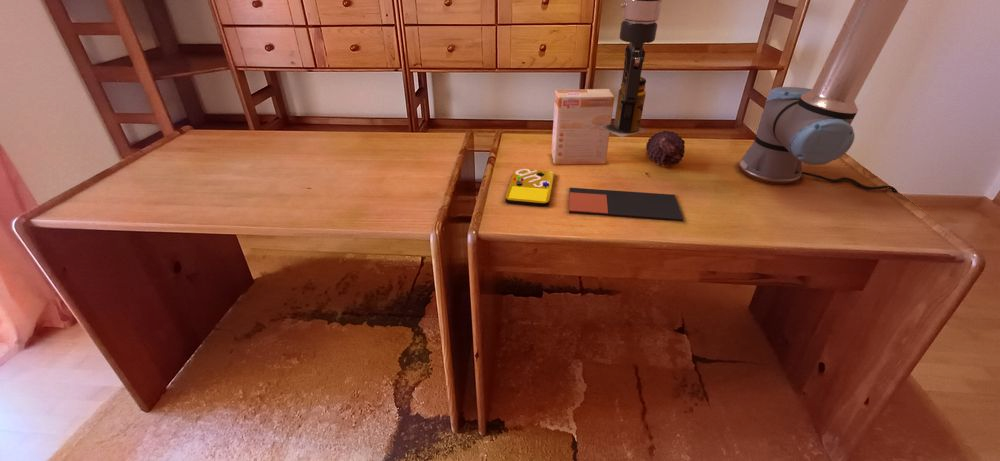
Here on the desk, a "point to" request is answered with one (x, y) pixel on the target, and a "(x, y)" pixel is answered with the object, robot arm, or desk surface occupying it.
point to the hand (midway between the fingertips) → (623, 124)
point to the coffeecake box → (581, 126)
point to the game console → (530, 188)
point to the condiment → (636, 115)
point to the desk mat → (624, 204)
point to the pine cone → (666, 148)
